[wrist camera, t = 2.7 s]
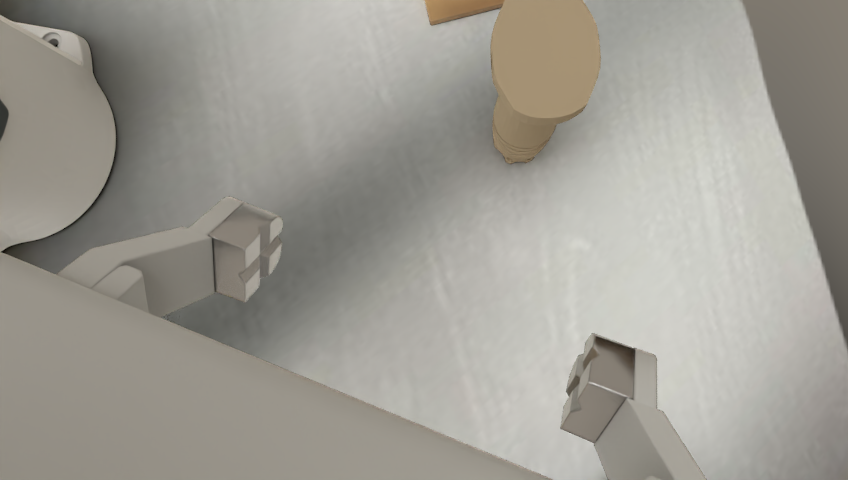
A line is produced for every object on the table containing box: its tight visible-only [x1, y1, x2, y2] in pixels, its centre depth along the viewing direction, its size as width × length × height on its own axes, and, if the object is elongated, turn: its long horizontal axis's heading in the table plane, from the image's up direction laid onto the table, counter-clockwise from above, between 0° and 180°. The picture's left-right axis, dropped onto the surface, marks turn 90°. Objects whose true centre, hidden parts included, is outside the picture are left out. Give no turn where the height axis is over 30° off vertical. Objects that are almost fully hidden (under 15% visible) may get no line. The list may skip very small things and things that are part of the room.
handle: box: [491, 0, 601, 164], centre depth 34 cm, size 5×6×15 cm
